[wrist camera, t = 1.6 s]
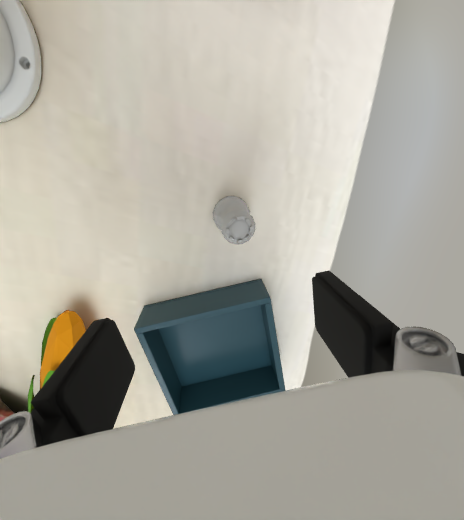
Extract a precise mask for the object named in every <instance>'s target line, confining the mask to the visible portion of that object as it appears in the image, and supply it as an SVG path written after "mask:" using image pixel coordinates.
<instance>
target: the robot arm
mask: <svg viewBox="0 0 464 520" xmlns="http://www.w3.org/2000/svg"><path fill="white" fill-rule="evenodd" d="M29 66H30V68H29ZM40 79H41V55H40V49H39V43H38V40H37V37H36V34H35V31H34V28H33V25H32V23H31V21H30V19H29V17H28V15H27V13H26V11H25V9H24V7H23V5H22V4H21V2H20V1H19V0H0V122H5V121H8V120H10V119H13V118H15V117H17V116H19V115H20V114H21V113H23V112H24V111H25V110H26V109H27V108H28V107H29V106H30V104H31V103H32V102H33V100H34V98H35V96H36V94H37V91H38V89H39V85H40ZM312 285H313V300H314V315H315V326H316V329H317V331H318V333H319V334H320V336H321V337H322V339H323V340H324V342H325V343H326V345H327V346H328V348H329V349H330V351H331V352H332V354H333V355H334V357H335V358H336V360H337V361H338V363H339V364H340V366H341V367H342V369H343V370H344V372H345V373H346V375H347V376H348V378H345V379H339V380H335V381H330V382H325V383H320V384H315V385H310V386H305V387H301V388H296V389H291V390H287V391H282V392H277V393H273V394H268V395H263V396H259V397H254V398H249V399H245V400H240V401H236V402H231V403H227V404H222V405H218V406H213V407H208V408H204V409H199V410H195V411H190V412H186V413H181V414H177V415H172V416H168V417H164V418H159V419H155V420H150V421H146V422H142V423H137V424H133V425H128V426H124V427H120V428H115V429H113V427H114V424H115V422H116V419H117V416H118V414H119V411H120V408H121V406H122V403H123V401H124V398H125V395H126V393H127V390H128V387H129V385H130V382H131V379H132V377H133V374H134V371H135V365H134V362H133V360H132V358H131V356H130V353H129V351H128V349H127V347H126V345H125V343H124V341H123V338H122V336H121V334H120V332H119V330H118V328H117V325H116V323H115V322H114V321H113V320H110V319H109V318H105V319H101V320H96V321H94V322H93V323H92V324H91V325H90V326H89V328H88V329H87V330H86V332H85V333H84V334H83V335H82V337H81V338H80V339H79V341H78V342H77V343H76V344H75V346H74V347H73V348H72V350H71V351H70V352H69V353H68V355H67V356H66V357H65V359H64V360H63V361H62V362H61V364H60V365H59V366H58V368H57V369H56V370H55V371H54V373H53V374H52V375H51V377H50V378H49V379H48V380H47V382H46V383H45V384H44V385H43V387H42V388H41V389H40V391H39V392H38V393H37V394H36V396H35V397H34V398H33V400H32V401H31V402H30V403H31V404H32V405H33V407H34V409H33V410H32V412H31V413H30V412H27V411H23V412H18V413H15V414H13V415H10V416H9V417H7V418H5V419H3V420H2V421H0V520H464V354H461V353H457V352H456V348H455V346H454V345H453V343H452V342H451V341H450V340H449V339H448V338H447V337H445V336H443V335H442V334H440V333H438V332H436V331H433V330H430V329H427V328H422V327H406V328H402V329H400V328H399V327H397V326H396V325H395V324H394V323H392V322H391V321H390V320H389V319H387V318H386V317H385V316H384V315H383V314H381V313H380V312H379V311H378V310H377V309H375V308H374V307H373V306H372V305H371V304H369V303H368V302H367V301H365V299H363V298H362V297H361V296H360V295H358V294H357V293H356V292H354V291H353V290H352V289H351V288H350V287H348V286H347V285H346V284H345V283H344V282H342V281H341V280H340V279H339V278H337V277H336V276H335V275H334V274H333V273H331V272H330V271H325V272H320V273H316V275H315V277H313V278H312Z"/></svg>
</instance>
